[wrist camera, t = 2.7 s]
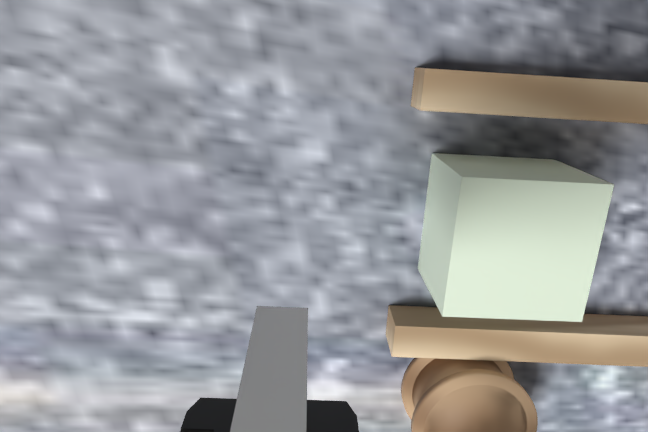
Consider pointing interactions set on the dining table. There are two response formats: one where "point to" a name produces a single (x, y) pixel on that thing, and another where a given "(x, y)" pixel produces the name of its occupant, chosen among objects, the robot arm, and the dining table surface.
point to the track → (511, 334)
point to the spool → (465, 397)
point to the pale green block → (511, 237)
